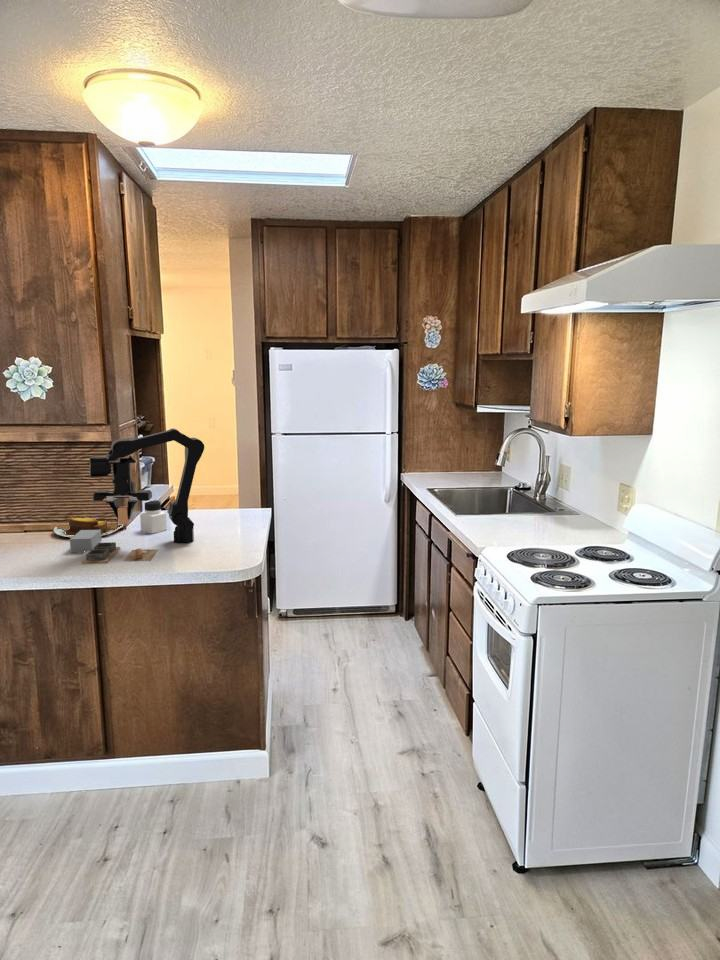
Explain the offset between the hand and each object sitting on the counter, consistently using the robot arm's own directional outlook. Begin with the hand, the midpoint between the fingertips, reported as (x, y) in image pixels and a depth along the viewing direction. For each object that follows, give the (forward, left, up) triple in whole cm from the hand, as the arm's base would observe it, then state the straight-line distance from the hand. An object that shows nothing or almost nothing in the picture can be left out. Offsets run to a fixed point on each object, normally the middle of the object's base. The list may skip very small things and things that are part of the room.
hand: (124, 519), depth 221 cm
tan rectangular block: (0, 0, -2) cm, 2 cm away
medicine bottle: (-4, -26, -12) cm, 29 cm away
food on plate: (+20, -26, -12) cm, 35 cm away
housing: (+14, -4, -11) cm, 19 cm away
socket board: (+6, +9, -11) cm, 16 cm away
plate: (-7, +9, -11) cm, 16 cm away
